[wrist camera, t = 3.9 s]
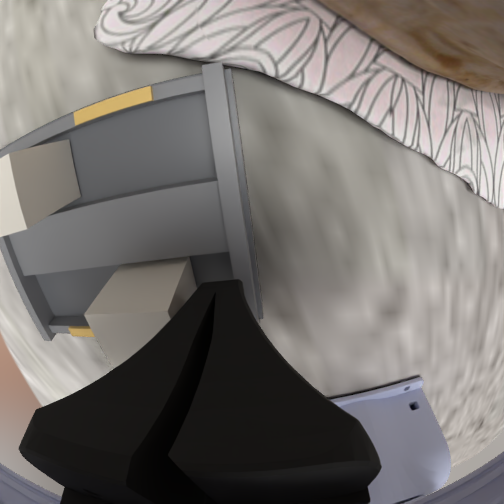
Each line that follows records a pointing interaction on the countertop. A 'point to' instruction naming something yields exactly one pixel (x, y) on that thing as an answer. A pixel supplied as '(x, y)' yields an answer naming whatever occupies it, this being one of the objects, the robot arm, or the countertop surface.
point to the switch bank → (140, 198)
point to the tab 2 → (139, 304)
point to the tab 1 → (35, 185)
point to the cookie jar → (354, 63)
